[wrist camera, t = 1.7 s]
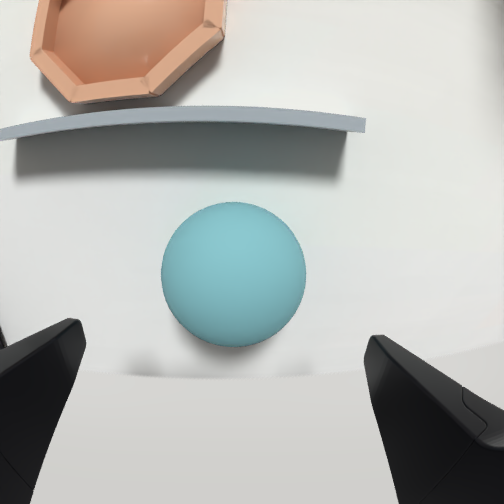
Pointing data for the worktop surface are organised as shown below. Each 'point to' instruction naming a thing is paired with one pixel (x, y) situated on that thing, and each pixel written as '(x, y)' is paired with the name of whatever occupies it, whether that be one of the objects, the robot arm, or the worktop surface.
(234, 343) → the ball
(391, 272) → the worktop surface
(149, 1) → the saucer
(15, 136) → the low wall
